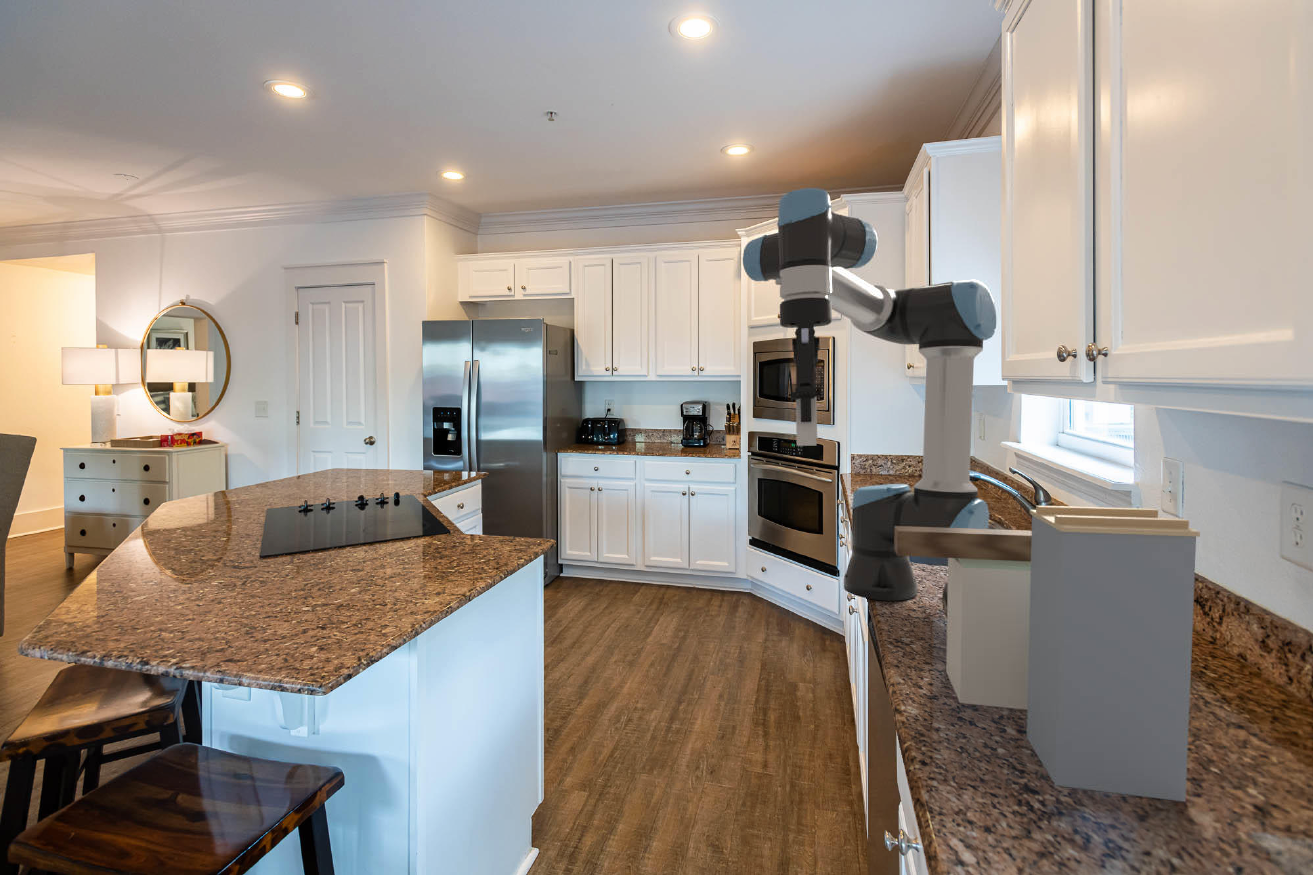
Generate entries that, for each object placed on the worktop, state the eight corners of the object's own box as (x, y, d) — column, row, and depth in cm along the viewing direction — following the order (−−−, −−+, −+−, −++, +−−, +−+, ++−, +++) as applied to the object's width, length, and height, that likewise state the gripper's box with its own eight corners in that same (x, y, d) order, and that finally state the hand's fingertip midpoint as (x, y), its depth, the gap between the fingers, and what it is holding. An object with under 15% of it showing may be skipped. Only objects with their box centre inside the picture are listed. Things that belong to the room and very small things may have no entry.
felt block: (960, 702, 87) (962, 564, 86) (946, 672, 97) (948, 547, 96) (1127, 719, 82) (1132, 572, 81) (1095, 685, 92) (1099, 553, 91)
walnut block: (1091, 558, 88) (1092, 532, 88) (1102, 564, 85) (1103, 538, 85) (894, 549, 95) (894, 525, 95) (897, 555, 91) (897, 530, 91)
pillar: (1140, 749, 76) (1148, 506, 74) (1188, 803, 66) (1200, 523, 64) (1024, 736, 79) (1029, 503, 77) (1054, 786, 69) (1061, 519, 67)
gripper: (784, 310, 107) (786, 434, 109) (773, 289, 83) (776, 449, 85) (830, 307, 105) (831, 434, 107) (832, 284, 81) (835, 449, 83)
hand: (807, 441), depth 96 cm, fingers open, 13 cm apart
